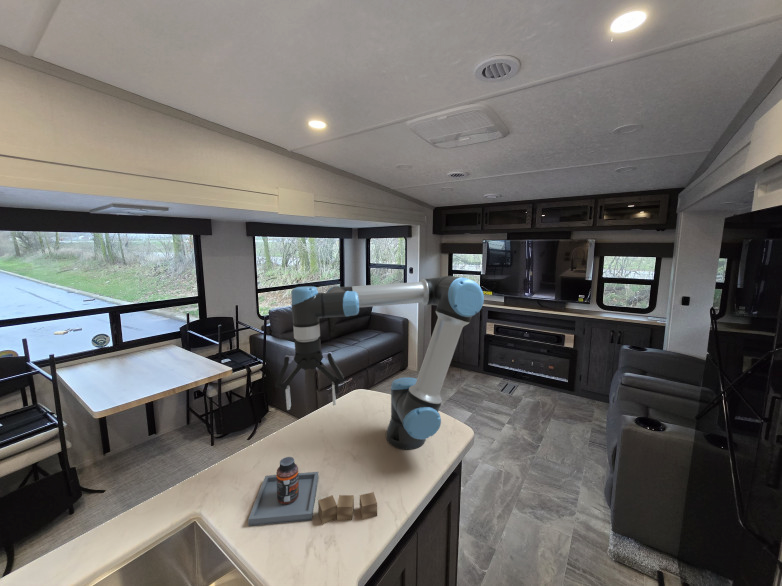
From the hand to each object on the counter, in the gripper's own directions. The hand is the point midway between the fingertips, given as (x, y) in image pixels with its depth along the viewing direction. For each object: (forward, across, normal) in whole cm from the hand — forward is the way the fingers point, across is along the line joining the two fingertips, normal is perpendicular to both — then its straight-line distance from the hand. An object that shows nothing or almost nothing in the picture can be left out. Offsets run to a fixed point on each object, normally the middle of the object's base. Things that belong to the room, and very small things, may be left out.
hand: (312, 405), depth 96 cm
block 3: (+24, -15, +16) cm, 33 cm away
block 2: (+24, -9, +16) cm, 30 cm away
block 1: (+24, -4, +16) cm, 29 cm away
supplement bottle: (+23, +7, +8) cm, 26 cm away
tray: (+23, +8, +8) cm, 26 cm away
